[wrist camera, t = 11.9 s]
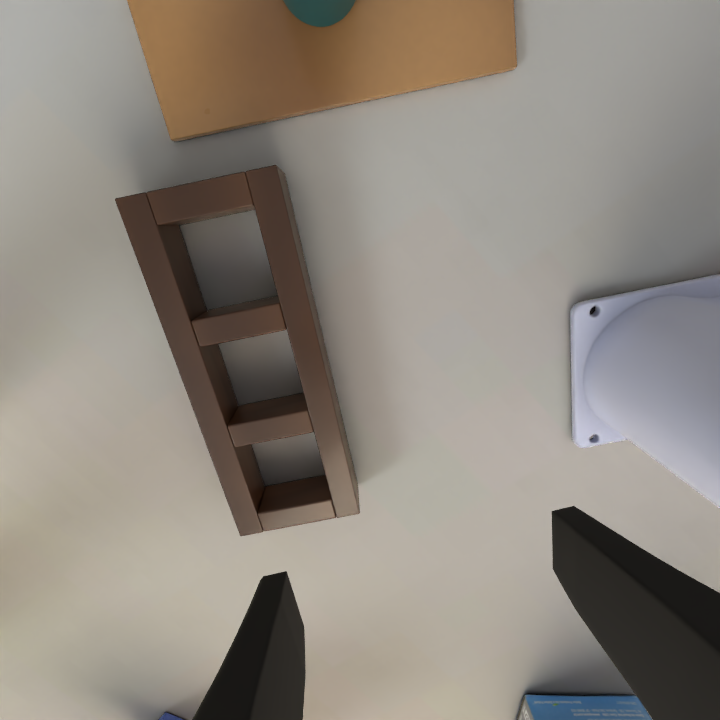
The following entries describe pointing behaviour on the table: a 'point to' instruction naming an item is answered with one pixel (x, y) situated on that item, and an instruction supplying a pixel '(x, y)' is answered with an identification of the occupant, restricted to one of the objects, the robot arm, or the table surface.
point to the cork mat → (310, 56)
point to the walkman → (169, 717)
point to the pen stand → (209, 328)
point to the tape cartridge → (582, 708)
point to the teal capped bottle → (319, 11)
